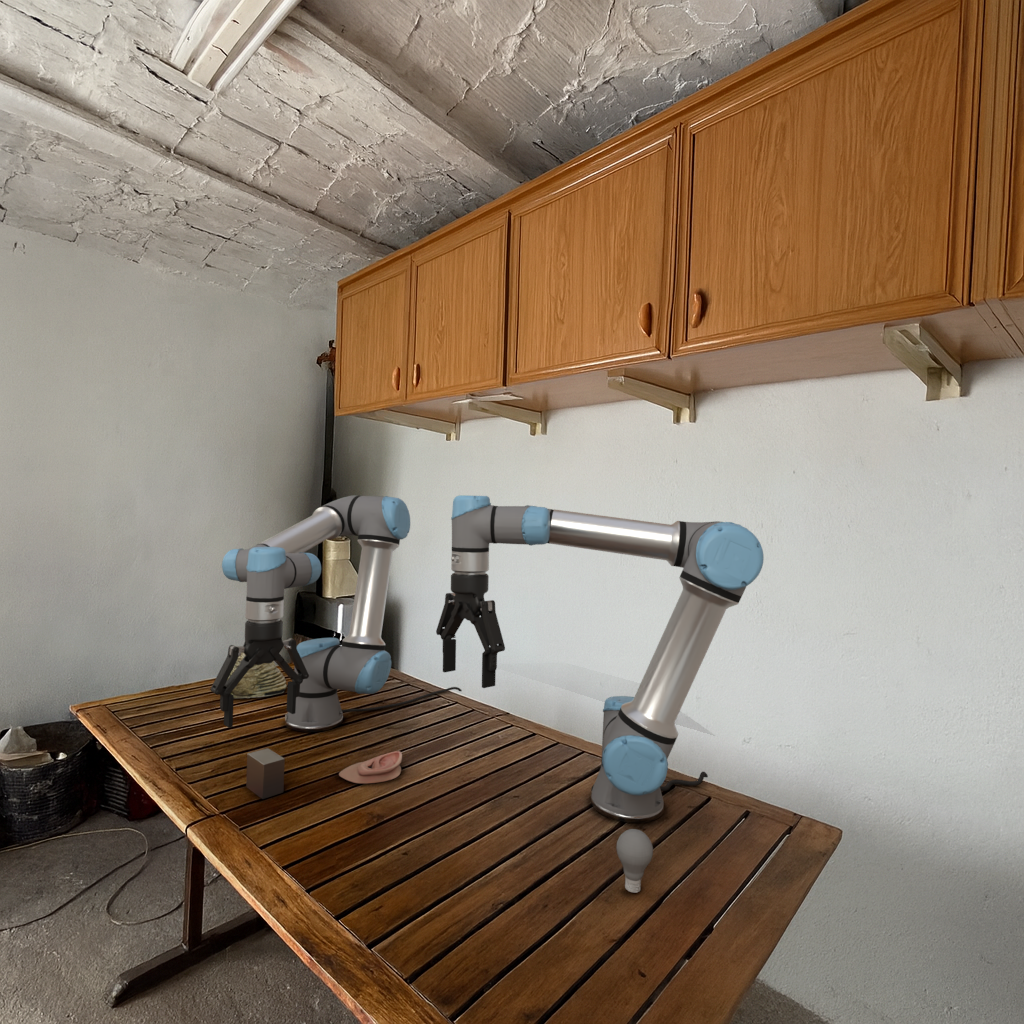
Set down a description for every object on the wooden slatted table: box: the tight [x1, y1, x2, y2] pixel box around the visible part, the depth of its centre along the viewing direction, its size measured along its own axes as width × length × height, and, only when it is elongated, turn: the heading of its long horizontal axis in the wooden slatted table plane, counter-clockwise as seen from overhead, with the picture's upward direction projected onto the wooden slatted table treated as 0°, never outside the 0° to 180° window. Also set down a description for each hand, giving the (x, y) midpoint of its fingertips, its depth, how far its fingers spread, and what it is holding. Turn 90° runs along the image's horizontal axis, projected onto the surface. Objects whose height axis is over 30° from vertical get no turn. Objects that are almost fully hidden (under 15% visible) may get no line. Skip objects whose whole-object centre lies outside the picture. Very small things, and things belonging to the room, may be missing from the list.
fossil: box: [227, 652, 288, 699], centre depth 198 cm, size 9×18×15 cm, turn 132°
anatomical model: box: [338, 750, 403, 784], centre depth 146 cm, size 13×4×12 cm
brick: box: [245, 747, 286, 800], centre depth 136 cm, size 8×5×7 cm, turn 48°
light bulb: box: [615, 828, 654, 894], centre depth 106 cm, size 6×6×10 cm
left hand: (260, 718), depth 135 cm, fingers open, 13 cm apart
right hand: (468, 678), depth 127 cm, fingers open, 13 cm apart
